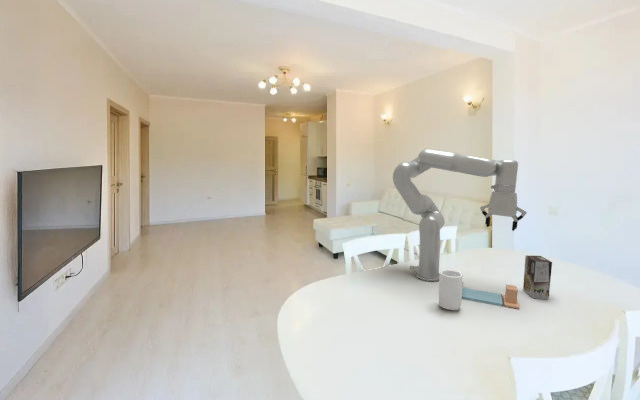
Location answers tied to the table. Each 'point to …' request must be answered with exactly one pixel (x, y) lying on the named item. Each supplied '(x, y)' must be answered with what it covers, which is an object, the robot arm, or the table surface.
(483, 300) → the gray-edged light blue slab
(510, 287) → the tan stepped block
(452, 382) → the table surface
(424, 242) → the robot arm
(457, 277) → the cup
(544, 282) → the coffee box
